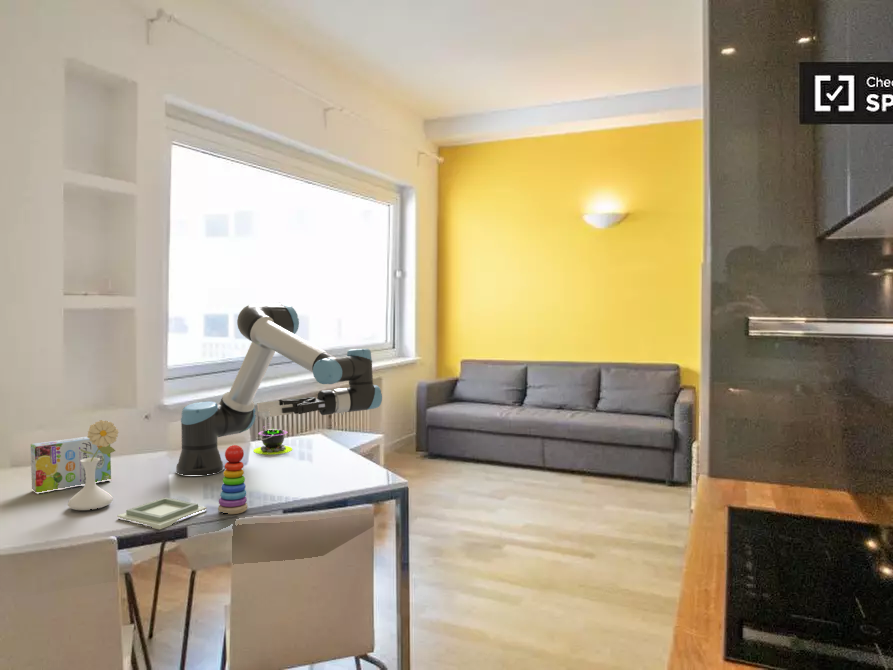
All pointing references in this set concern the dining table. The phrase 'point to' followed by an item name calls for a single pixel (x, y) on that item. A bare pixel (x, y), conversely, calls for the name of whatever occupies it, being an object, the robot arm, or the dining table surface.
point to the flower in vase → (91, 493)
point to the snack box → (65, 463)
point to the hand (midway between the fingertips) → (263, 409)
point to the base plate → (161, 512)
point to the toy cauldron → (272, 443)
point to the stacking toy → (233, 483)
